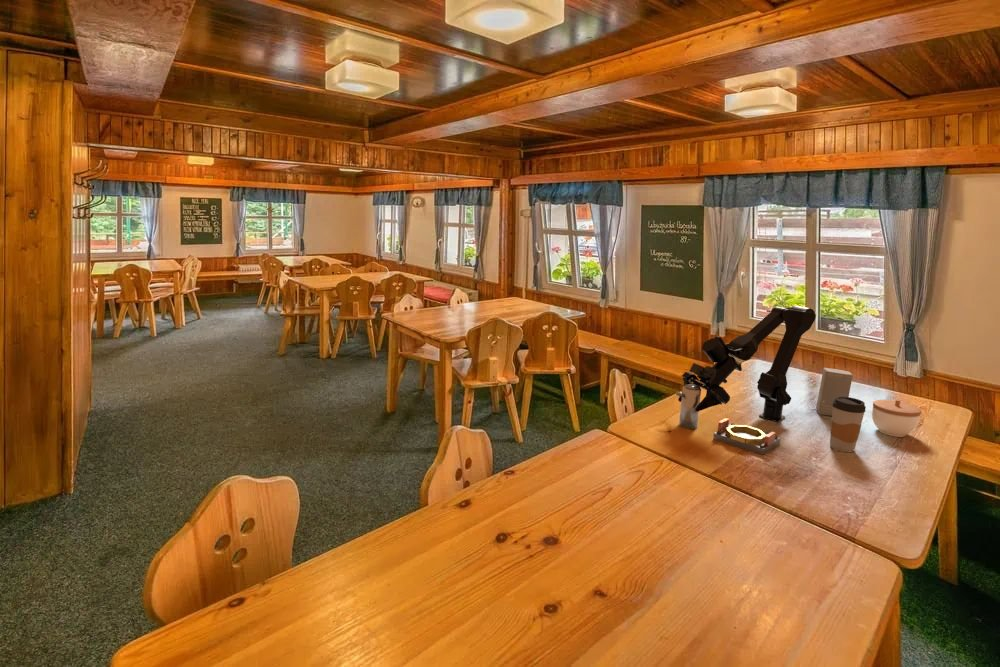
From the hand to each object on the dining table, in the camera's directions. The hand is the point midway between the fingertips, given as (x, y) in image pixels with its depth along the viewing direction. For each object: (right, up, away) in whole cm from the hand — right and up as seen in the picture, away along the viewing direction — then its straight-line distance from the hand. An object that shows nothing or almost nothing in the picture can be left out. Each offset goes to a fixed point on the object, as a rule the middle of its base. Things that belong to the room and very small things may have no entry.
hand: (687, 405), depth 174 cm
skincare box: (+57, -5, +16) cm, 59 cm away
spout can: (-1, -7, +1) cm, 7 cm away
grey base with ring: (+14, -10, -10) cm, 20 cm away
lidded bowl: (+67, -9, 0) cm, 67 cm away
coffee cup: (+42, -11, -13) cm, 45 cm away
